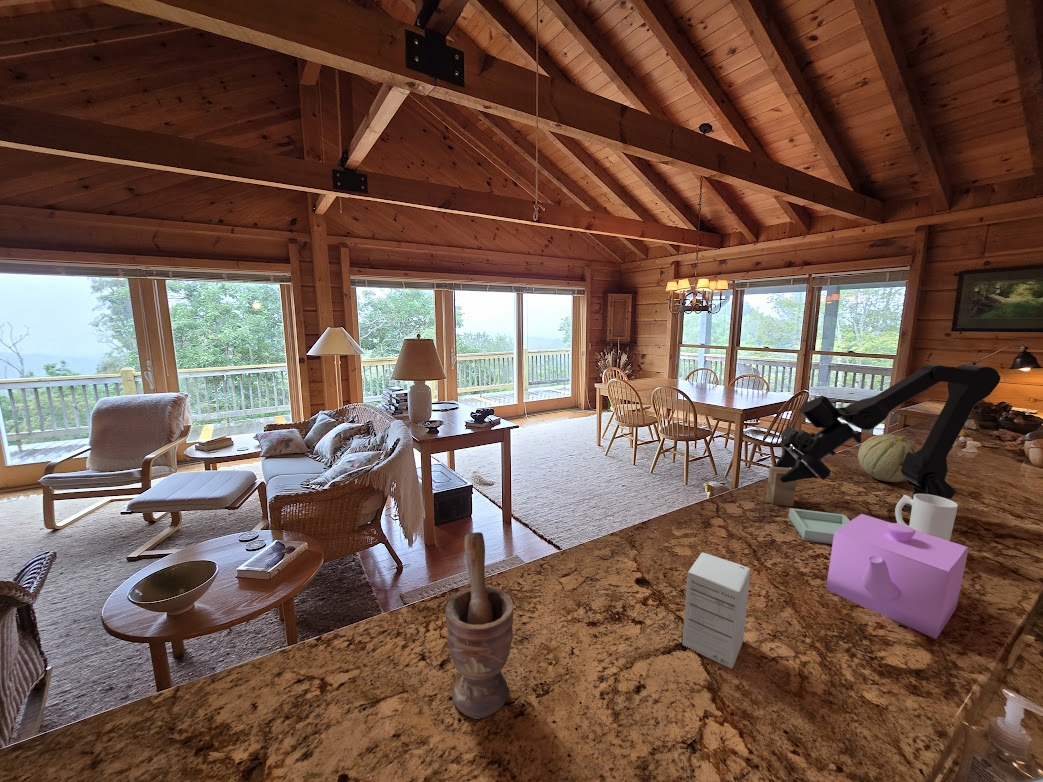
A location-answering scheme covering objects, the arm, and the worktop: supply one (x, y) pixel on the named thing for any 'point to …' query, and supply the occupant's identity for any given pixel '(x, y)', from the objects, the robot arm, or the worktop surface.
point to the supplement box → (716, 608)
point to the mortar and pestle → (479, 637)
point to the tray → (817, 524)
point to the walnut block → (780, 487)
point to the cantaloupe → (885, 456)
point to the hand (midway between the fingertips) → (776, 476)
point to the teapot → (897, 572)
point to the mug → (929, 514)
